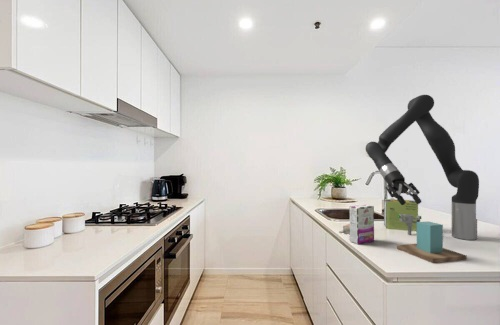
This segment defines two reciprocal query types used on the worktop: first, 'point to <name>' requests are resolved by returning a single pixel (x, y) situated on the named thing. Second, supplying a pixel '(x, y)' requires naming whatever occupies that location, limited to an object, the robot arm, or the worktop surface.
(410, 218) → the mechanical component
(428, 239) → the teal rectangular block
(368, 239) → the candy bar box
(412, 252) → the plate
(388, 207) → the protein box
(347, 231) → the packaged product
